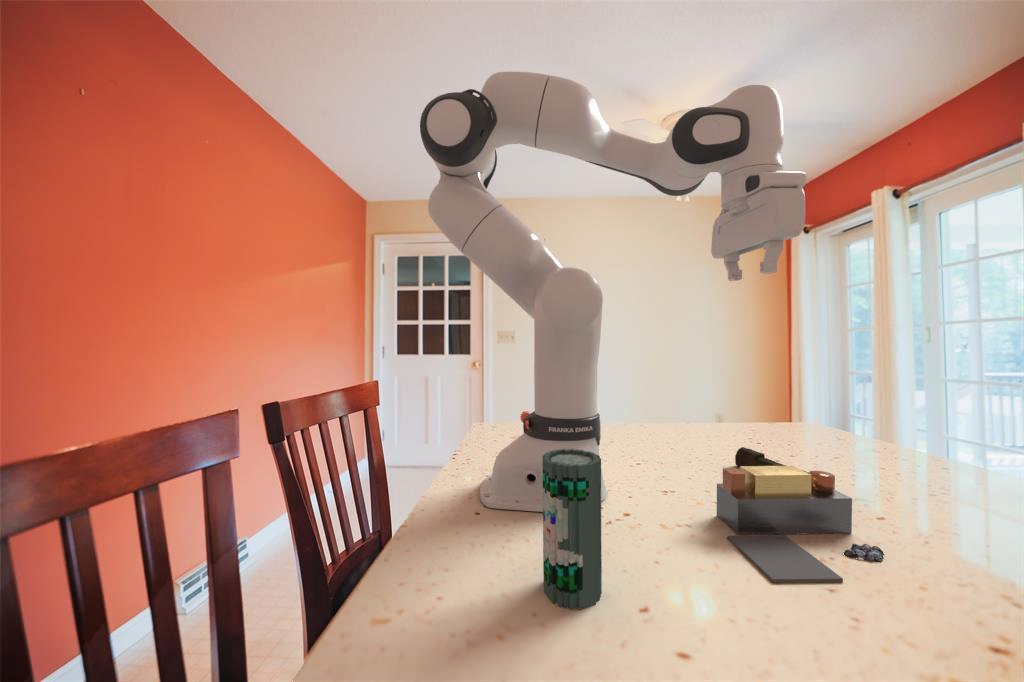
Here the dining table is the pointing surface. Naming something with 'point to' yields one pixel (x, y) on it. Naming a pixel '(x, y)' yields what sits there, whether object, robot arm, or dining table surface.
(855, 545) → the blueberries
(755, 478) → the gold metallic block
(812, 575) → the mat
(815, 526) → the plane body
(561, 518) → the can
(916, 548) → the dining table surface
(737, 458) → the hand tool
